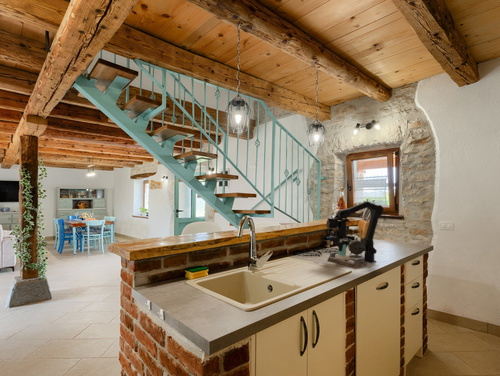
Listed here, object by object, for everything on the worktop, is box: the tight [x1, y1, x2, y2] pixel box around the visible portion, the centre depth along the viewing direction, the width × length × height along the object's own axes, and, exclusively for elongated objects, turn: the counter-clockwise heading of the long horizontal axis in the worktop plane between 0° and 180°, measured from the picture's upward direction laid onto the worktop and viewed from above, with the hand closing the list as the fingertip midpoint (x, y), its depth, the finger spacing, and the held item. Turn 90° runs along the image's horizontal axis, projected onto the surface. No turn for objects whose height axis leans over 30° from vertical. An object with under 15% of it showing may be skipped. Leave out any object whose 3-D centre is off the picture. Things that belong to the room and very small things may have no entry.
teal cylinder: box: [335, 244, 350, 260], centre depth 191 cm, size 7×6×10 cm
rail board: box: [327, 251, 368, 269], centre depth 188 cm, size 12×22×5 cm, turn 29°
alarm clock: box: [347, 233, 364, 257], centre depth 210 cm, size 11×5×16 cm, turn 84°
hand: (342, 251), depth 191 cm, fingers closed on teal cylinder, 3 cm apart
